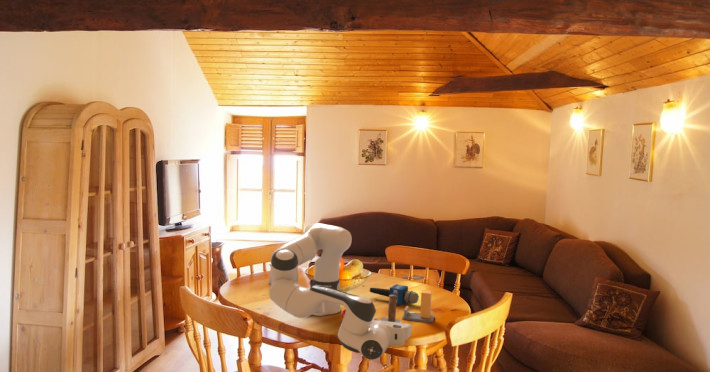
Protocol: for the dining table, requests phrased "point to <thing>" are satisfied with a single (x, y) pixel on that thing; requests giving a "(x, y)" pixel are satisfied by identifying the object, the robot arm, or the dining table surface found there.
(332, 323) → the dining table surface
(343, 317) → the cap
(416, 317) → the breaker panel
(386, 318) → the coaster
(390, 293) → the microphone
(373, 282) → the dining table surface
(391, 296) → the brown wooden post
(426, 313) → the tan wooden block
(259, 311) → the dining table surface
